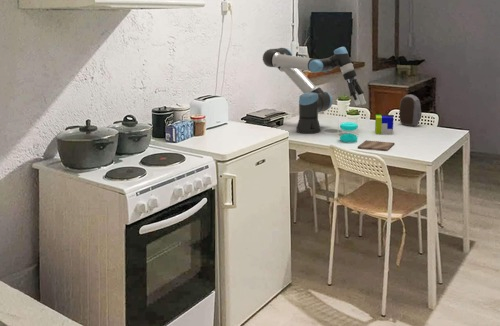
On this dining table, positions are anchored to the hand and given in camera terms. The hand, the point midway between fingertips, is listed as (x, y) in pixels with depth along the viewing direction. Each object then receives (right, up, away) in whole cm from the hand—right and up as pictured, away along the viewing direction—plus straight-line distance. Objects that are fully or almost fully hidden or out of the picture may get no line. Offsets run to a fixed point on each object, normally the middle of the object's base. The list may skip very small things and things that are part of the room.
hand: (361, 104), depth 317 cm
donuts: (-10, -22, -14) cm, 29 cm away
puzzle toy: (+15, -17, +4) cm, 23 cm away
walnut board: (+2, -26, -29) cm, 39 cm away
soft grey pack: (+36, -11, +24) cm, 45 cm away
